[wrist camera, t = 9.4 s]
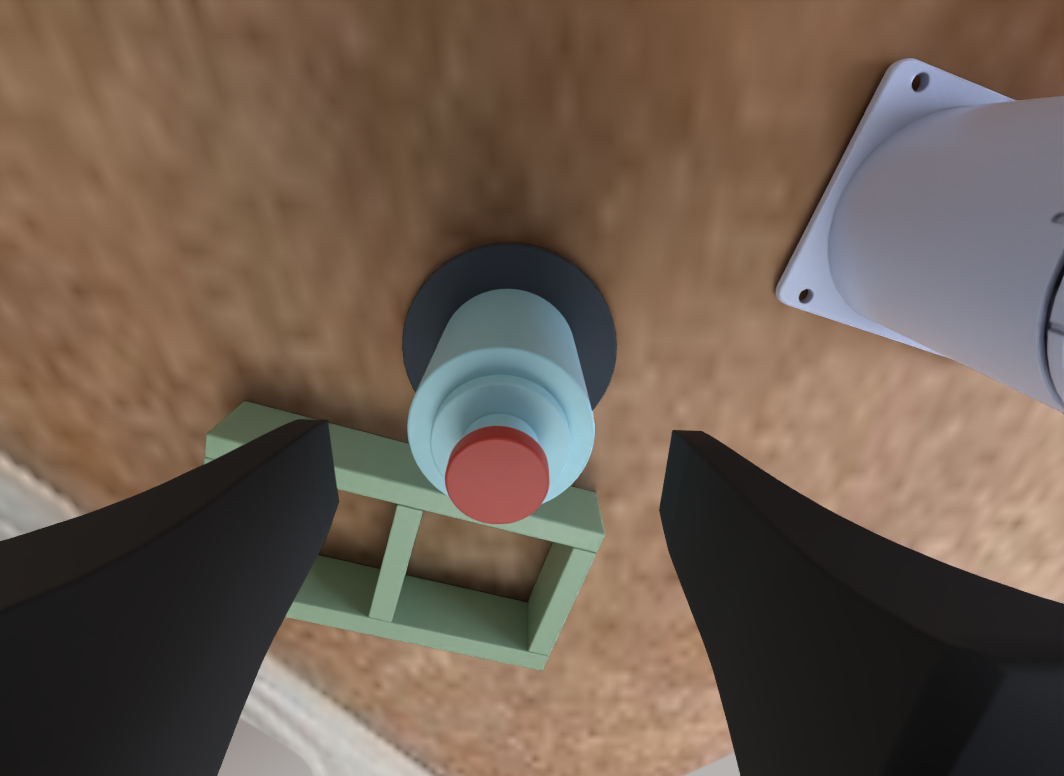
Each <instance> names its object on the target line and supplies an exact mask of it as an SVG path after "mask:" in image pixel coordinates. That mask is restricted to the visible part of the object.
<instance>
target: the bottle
mask: <svg viewBox="0 0 1064 776" xmlns="http://www.w3.org/2000/svg"><path fill="white" fill-rule="evenodd" d="M407 433H408V440H409V445H410V448H411V452H412V454H413V457H414V459H415V461H416V463H417V465H418V467H419V468H420V470H421V471H422V473H423V474H424V475H425V477H426V478H427V479H428V480H429V481H430V482H431V483H432V484H433V485H434V486H435V487H436V488H437V489H438V490H440V491H441V492H443V493H444V494H445V495H447V496H448V497H450V499H451V501H452V502H453V504H454V505H455V506H456V507H457V508H458V509H459V510H460V511H461V512H462V513H464V514H465V515H466V516H468V517H470V518H472V519H474V520H476V521H479V522H483V523H488V524H509V523H513V522H517V521H519V520H522V519H524V518H526V517H528V516H529V515H531V514H532V513H533V512H535V511H536V510H537V509H538V508H539V506H540V505H541V504H543V503H545V502H547V501H549V500H551V499H553V498H555V497H556V496H558V495H559V494H561V493H562V492H563V491H565V490H566V489H567V488H568V487H569V486H570V485H571V484H572V483H573V482H574V481H575V480H576V479H577V478H578V476H579V475H580V474H581V472H582V471H583V469H584V468H585V466H586V464H587V462H588V460H589V458H590V455H591V452H592V449H593V443H594V438H595V424H594V416H593V412H592V408H591V404H590V401H589V397H588V393H587V389H586V385H585V381H584V377H583V373H582V369H581V366H580V362H579V358H578V354H577V350H576V346H575V342H574V338H573V335H572V332H571V329H570V327H569V325H568V323H567V322H566V320H565V318H564V317H563V316H562V314H561V313H560V312H559V311H558V310H557V309H556V308H555V307H554V306H553V305H552V304H550V303H549V302H548V301H546V300H545V299H543V298H541V297H539V296H538V295H535V294H533V293H530V292H527V291H523V290H517V289H497V290H491V291H488V292H484V293H482V294H479V295H477V296H475V297H473V298H472V299H470V300H468V301H467V302H466V303H464V304H463V305H462V306H461V307H460V308H459V309H458V310H457V311H456V312H455V313H454V314H453V316H452V317H451V319H450V320H449V322H448V324H447V326H446V328H445V330H444V332H443V334H442V337H441V339H440V341H439V343H438V345H437V348H436V350H435V352H434V354H433V356H432V358H431V361H430V363H429V365H428V367H427V369H426V372H425V374H424V376H423V378H422V380H421V382H420V385H419V387H418V389H417V391H416V393H415V396H414V398H413V400H412V403H411V406H410V409H409V415H408V421H407Z"/></svg>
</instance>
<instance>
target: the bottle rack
mask: <svg viewBox="0 0 1064 776" xmlns="http://www.w3.org/2000/svg"><path fill="white" fill-rule="evenodd" d="M297 419H311V420H316V419H312V418H309V417H305V416H301V415H297V414H293V413H289V412H286V411H282V410H278V409H274V408H270V407H266V406H263V405H259V404H255V403H251V402H247V401H244V402H242V403H241V404H240V405H239V406H238V407H237V408H236V409H235V410H233V411H232V412H231V413H230V414H229V415H228V416H227V417H225V418H224V419H223V420H222V421H221V422H220V423H219V424H218V425H216V426H215V427H214V428H213V429H212V430H211V431H210V432H208V433H207V435H206V445H205V456H206V457H205V458H204V464H206V463H208V462H210V461H212V460H214V459H216V458H218V457H220V456H222V455H224V454H226V453H228V452H230V451H232V450H234V449H236V448H238V447H240V446H242V445H244V444H246V443H248V442H250V441H252V440H254V439H256V438H258V437H260V436H262V435H264V434H266V433H268V432H270V431H272V430H274V429H276V428H278V427H280V426H282V425H285V424H287V423H289V422H292V421H295V420H297ZM328 425H329V432H330V439H331V447H332V454H333V461H334V469H335V476H336V483H337V489H339V490H343V491H347V492H351V493H355V494H359V495H363V496H367V497H372V498H376V499H380V500H384V501H388V502H392V503H396V504H397V507H396V511H395V515H394V519H393V522H392V526H391V530H390V534H389V538H388V542H387V546H386V550H385V553H384V557H383V561H382V565H381V569H378V568H373V567H369V566H364V565H360V564H356V563H351V562H347V561H342V560H338V559H334V558H329V557H325V556H320V555H318V556H317V558H316V560H315V562H314V564H313V566H312V568H311V569H310V571H309V573H308V575H307V577H306V579H305V581H304V583H303V584H302V586H301V588H300V590H299V592H298V594H297V596H296V597H295V599H294V601H293V603H292V605H291V607H290V609H289V610H288V612H287V614H286V616H285V617H288V618H293V619H298V620H303V621H307V622H312V623H317V624H322V625H326V626H331V627H336V628H341V629H345V630H350V631H355V632H360V633H364V634H369V635H374V636H379V637H383V638H388V639H393V640H398V641H402V642H407V643H412V644H417V645H421V646H426V647H431V648H436V649H440V650H445V651H450V652H455V653H459V654H464V655H469V656H474V657H478V658H483V659H488V660H493V661H497V662H502V663H507V664H512V665H516V666H521V667H526V668H531V669H535V670H540V671H542V670H543V668H544V665H545V663H546V661H547V659H548V657H549V655H550V652H551V650H552V648H553V646H554V644H555V642H556V639H557V637H558V635H559V633H560V631H561V629H562V627H563V624H564V622H565V620H566V618H567V616H568V614H569V612H570V609H571V607H572V605H573V603H574V601H575V599H576V596H577V594H578V592H579V590H580V588H581V586H582V584H583V581H584V579H585V577H586V575H587V573H588V571H589V568H590V566H591V564H592V562H593V560H594V558H595V556H596V552H597V551H598V549H599V546H600V544H601V542H602V540H603V538H604V536H605V532H604V527H603V522H602V517H601V512H600V508H599V503H598V498H597V494H596V493H595V492H592V491H588V490H584V489H580V488H576V487H573V486H569V487H568V488H567V489H566V490H565V491H563V492H562V493H561V494H559V495H558V496H556V497H555V498H553V499H551V500H549V501H547V502H545V503H543V504H541V505H540V506H539V508H538V509H537V510H536V511H535V512H533V513H532V514H531V515H529V516H528V517H526V518H524V519H522V520H519V521H517V522H513V523H509V524H488V523H483V522H479V521H476V520H474V519H472V518H470V517H468V516H466V515H465V514H464V513H462V512H461V511H460V510H459V509H458V508H457V507H456V506H455V505H454V504H453V502H452V501H451V499H450V497H448V496H447V495H445V494H444V493H443V492H441V491H440V490H438V489H437V488H436V487H435V486H434V485H433V484H432V483H431V482H430V481H429V480H428V479H427V478H426V477H425V475H424V474H423V473H422V471H421V470H420V468H419V467H418V465H417V463H416V461H415V459H414V457H413V454H412V452H411V448H410V445H409V444H408V443H404V442H400V441H397V440H393V439H389V438H385V437H381V436H377V435H374V434H370V433H366V432H362V431H358V430H354V429H351V428H347V427H343V426H339V425H335V424H331V423H328ZM423 510H425V511H429V512H433V513H437V514H441V515H445V516H449V517H453V518H457V519H461V520H465V521H469V522H474V523H478V524H482V525H486V526H490V527H494V528H498V529H502V530H506V531H510V532H514V533H518V534H522V535H527V536H531V537H535V538H539V539H543V540H547V541H551V542H553V543H552V545H551V548H550V550H549V553H548V555H547V557H546V560H545V562H544V564H543V567H542V569H541V572H540V574H539V576H538V579H537V581H536V584H535V586H534V588H533V591H532V593H531V596H530V598H529V600H528V603H527V602H523V601H518V600H514V599H509V598H505V597H501V596H496V595H492V594H487V593H483V592H479V591H474V590H470V589H465V588H461V587H457V586H452V585H448V584H443V583H439V582H435V581H430V580H426V579H422V578H417V577H413V576H408V575H405V574H406V570H407V567H408V563H409V560H410V556H411V553H412V549H413V545H414V542H415V538H416V535H417V531H418V528H419V524H420V521H421V517H422V514H423Z"/></svg>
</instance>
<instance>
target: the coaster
mask: <svg viewBox="0 0 1064 776" xmlns="http://www.w3.org/2000/svg"><path fill="white" fill-rule="evenodd" d="M497 289H517V290H523V291H527V292H530V293H533V294H535V295H538V296H539V297H541V298H543V299H545V300H546V301H548V302H549V303H550V304H552V305H553V306H554V307H555V308H556V309H557V310H558V311H559V312H560V313H561V314H562V316H563V317H564V318H565V320H566V322H567V323H568V325H569V327H570V329H571V332H572V335H573V338H574V342H575V346H576V350H577V354H578V358H579V362H580V366H581V369H582V373H583V377H584V381H585V385H586V389H587V393H588V397H589V401H590V404H591V408H592V410H593V409H594V408H595V407H596V406H597V404H598V403H599V401H600V400H601V398H602V397H603V395H604V394H605V392H606V389H607V387H608V385H609V383H610V380H611V377H612V374H613V371H614V367H615V361H616V350H617V343H616V332H615V327H614V323H613V319H612V316H611V314H610V311H609V308H608V306H607V304H606V302H605V300H604V299H603V297H602V295H601V293H600V291H599V290H598V288H597V287H596V286H595V285H594V283H593V282H592V281H591V279H590V278H589V277H588V276H587V275H586V274H585V273H584V272H583V271H582V270H581V269H580V268H578V267H577V266H576V265H574V264H573V263H572V262H570V261H569V260H567V259H566V258H564V257H562V256H560V255H558V254H557V253H554V252H552V251H549V250H547V249H544V248H541V247H537V246H533V245H529V244H522V243H495V244H489V245H483V246H480V247H476V248H473V249H470V250H468V251H466V252H463V253H461V254H459V255H457V256H455V257H454V258H452V259H450V260H449V261H447V262H446V263H444V264H443V265H442V266H441V267H440V268H438V269H437V270H436V271H435V272H434V273H433V274H432V275H431V276H430V277H429V278H428V280H427V281H426V282H425V283H424V284H423V286H422V287H421V289H420V290H419V292H418V293H417V295H416V296H415V298H414V300H413V302H412V304H411V306H410V308H409V311H408V314H407V317H406V321H405V324H404V331H403V348H402V350H403V358H404V364H405V368H406V372H407V375H408V378H409V380H410V383H411V385H412V387H413V389H414V391H415V393H416V391H417V389H418V387H419V385H420V382H421V380H422V378H423V376H424V374H425V372H426V369H427V367H428V365H429V363H430V361H431V358H432V356H433V354H434V352H435V350H436V348H437V345H438V343H439V341H440V339H441V337H442V334H443V332H444V330H445V328H446V326H447V324H448V322H449V320H450V319H451V317H452V316H453V314H454V313H455V312H456V311H457V310H458V309H459V308H460V307H461V306H462V305H463V304H464V303H466V302H467V301H468V300H470V299H472V298H473V297H475V296H477V295H479V294H482V293H484V292H488V291H491V290H497Z"/></svg>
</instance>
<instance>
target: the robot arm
mask: <svg viewBox="0 0 1064 776" xmlns="http://www.w3.org/2000/svg"><path fill="white" fill-rule="evenodd" d="M916 75H918V76H919V77H920V81H921V82H920V86H919V88H918V89H917V90H916V91H914V90H913V89H912V85H911V84H912V81H913V79H914V77H915V76H916ZM805 289H808V295H807V297H806V298H805V299H803V300H801V301H800V300H799V294H800V293H801V292H802V291H803V290H805ZM775 292H776V297H777V299H778V300H779V301H781V302H782V303H784V304H786V305H789V306H792V307H795V308H798V309H801V310H804V311H807V312H810V313H813V314H816V315H819V316H822V317H825V318H828V319H831V320H834V321H837V322H840V323H843V324H846V325H849V326H852V327H855V328H859V329H862V330H865V331H868V332H871V333H874V334H877V335H880V336H883V337H886V338H889V339H892V340H895V341H898V342H901V343H904V344H907V345H910V346H913V347H916V348H919V349H922V350H925V351H929V352H932V353H935V354H938V355H941V356H944V357H947V358H950V359H952V360H954V361H956V362H958V363H960V364H962V365H964V366H967V367H969V368H971V369H973V370H975V371H977V372H979V373H981V374H983V375H985V376H987V377H989V378H991V379H993V380H995V381H997V382H999V383H1002V384H1004V385H1006V386H1008V387H1010V388H1012V389H1014V390H1016V391H1018V392H1020V393H1022V394H1024V395H1026V396H1028V397H1030V398H1032V399H1035V400H1037V401H1039V402H1041V403H1043V404H1045V405H1047V406H1049V407H1051V408H1053V409H1055V410H1057V411H1059V412H1061V413H1063V414H1064V96H1056V97H1046V98H1037V99H1027V100H1018V101H1016V100H1014V99H1011V98H1009V97H1006V96H1004V95H1002V94H999V93H997V92H994V91H992V90H989V89H987V88H985V87H982V86H980V85H977V84H975V83H972V82H970V81H968V80H965V79H963V78H960V77H958V76H956V75H953V74H951V73H948V72H946V71H943V70H941V69H939V68H936V67H934V66H931V65H929V64H927V63H924V62H922V61H919V60H917V59H913V58H906V59H902V60H899V61H896V62H895V63H893V64H892V65H891V66H890V67H889V68H888V69H887V71H886V72H885V74H884V76H883V78H882V80H881V82H880V84H879V86H878V88H877V90H876V92H875V94H874V96H873V98H872V100H871V102H870V104H869V106H868V107H867V109H866V111H865V113H864V115H863V117H862V119H861V121H860V123H859V125H858V127H857V129H856V131H855V133H854V135H853V137H852V139H851V141H850V143H849V145H848V147H847V149H846V151H845V153H844V155H843V157H842V159H841V161H840V163H839V165H838V167H837V168H836V170H835V172H834V174H833V176H832V178H831V180H830V182H829V184H828V186H827V188H826V190H825V192H824V194H823V196H822V198H821V200H820V202H819V204H818V206H817V208H816V210H815V212H814V214H813V216H812V218H811V220H810V222H809V224H808V226H807V228H806V229H805V231H804V233H803V235H802V237H801V239H800V241H799V243H798V245H797V247H796V249H795V251H794V253H793V255H792V257H791V259H790V261H789V263H788V265H787V267H786V269H785V271H784V273H783V275H782V277H781V279H780V281H779V283H778V285H777V287H776V291H775ZM338 503H339V498H338V491H337V483H336V476H335V469H334V461H333V454H332V447H331V439H330V432H329V425H328V420H311V419H297V420H295V421H292V422H289V423H287V424H285V425H282V426H280V427H278V428H276V429H274V430H272V431H270V432H268V433H266V434H264V435H262V436H260V437H258V438H256V439H254V440H252V441H250V442H248V443H246V444H244V445H242V446H240V447H238V448H236V449H234V450H232V451H230V452H228V453H226V454H224V455H222V456H220V457H218V458H216V459H214V460H212V461H210V462H208V463H206V464H204V465H202V466H200V467H197V468H195V469H193V470H191V471H189V472H187V473H185V474H182V475H180V476H178V477H176V478H174V479H172V480H170V481H167V482H165V483H163V484H161V485H159V486H156V487H154V488H152V489H149V490H147V491H145V492H142V493H140V494H137V495H135V496H132V497H130V498H127V499H125V500H122V501H120V502H117V503H114V504H112V505H109V506H106V507H104V508H101V509H99V510H96V511H93V512H90V513H88V514H85V515H82V516H79V517H76V518H73V519H70V520H67V521H63V522H60V523H57V524H54V525H51V526H48V527H45V528H42V529H38V530H35V531H32V532H29V533H26V534H23V535H20V536H17V537H14V538H10V539H7V540H4V541H0V776H217V775H218V772H219V769H220V767H221V764H222V761H223V759H224V756H225V754H226V751H227V749H228V746H229V743H230V741H231V738H232V736H233V733H234V730H235V728H236V725H237V722H238V720H239V717H240V715H241V712H242V710H243V707H244V705H245V702H246V700H247V698H248V695H249V693H250V690H251V688H252V685H253V683H254V681H255V678H256V676H257V673H258V671H259V668H260V666H261V664H262V661H263V659H264V657H265V655H266V653H267V651H268V649H269V647H270V645H271V643H272V640H273V638H274V637H275V635H276V633H277V631H278V629H279V627H280V625H281V624H282V622H283V620H284V618H285V616H286V614H287V612H288V610H289V609H290V607H291V605H292V603H293V601H294V599H295V597H296V596H297V594H298V592H299V590H300V588H301V586H302V584H303V583H304V581H305V579H306V577H307V575H308V573H309V571H310V569H311V568H312V566H313V564H314V562H315V560H316V558H317V556H318V554H319V552H320V550H321V548H322V546H323V544H324V542H325V540H326V537H327V534H328V532H329V529H330V526H331V524H332V521H333V518H334V515H335V512H336V509H337V506H338ZM659 511H660V516H661V520H662V525H663V530H664V534H665V538H666V542H667V547H668V551H669V554H670V556H671V559H672V562H673V565H674V567H675V570H676V572H677V575H678V578H679V580H680V583H681V586H682V588H683V591H684V593H685V596H686V599H687V601H688V604H689V606H690V609H691V612H692V614H693V617H694V619H695V622H696V625H697V627H698V630H699V632H700V635H701V637H702V640H703V643H704V645H705V648H706V651H707V654H708V657H709V660H710V663H711V666H712V669H713V672H714V676H715V679H716V683H717V687H718V690H719V694H720V698H721V701H722V705H723V709H724V712H725V716H726V720H727V724H728V728H729V732H730V736H731V740H732V744H733V748H734V752H735V756H736V760H737V763H738V768H739V771H740V776H1064V604H1063V603H1059V602H1056V601H1052V600H1049V599H1045V598H1042V597H1039V596H1036V595H1033V594H1030V593H1027V592H1024V591H1021V590H1018V589H1015V588H1012V587H1009V586H1006V585H1003V584H1001V583H998V582H995V581H992V580H989V579H986V578H983V577H980V576H977V575H975V574H972V573H969V572H967V571H964V570H961V569H959V568H956V567H953V566H951V565H948V564H945V563H943V562H941V561H938V560H936V559H933V558H931V557H928V556H926V555H924V554H921V553H919V552H916V551H914V550H912V549H909V548H907V547H904V546H902V545H900V544H897V543H895V542H893V541H891V540H888V539H886V538H884V537H882V536H880V535H878V534H875V533H873V532H871V531H869V530H867V529H865V528H863V527H861V526H859V525H857V524H855V523H853V522H851V521H849V520H847V519H845V518H843V517H841V516H839V515H837V514H835V513H834V512H832V511H830V510H828V509H826V508H824V507H823V506H821V505H819V504H817V503H816V502H814V501H812V500H811V499H809V498H807V497H805V496H804V495H802V494H800V493H799V492H797V491H795V490H793V489H792V488H790V487H789V486H787V485H785V484H784V483H782V482H781V481H779V480H777V479H776V478H774V477H773V476H771V475H770V474H768V473H766V472H765V471H763V470H762V469H760V468H759V467H757V466H756V465H754V464H753V463H751V462H750V461H748V460H747V459H745V458H744V457H742V456H741V455H739V454H738V453H736V452H735V451H733V450H732V449H730V448H729V447H727V446H726V445H724V444H723V443H721V442H720V441H718V440H717V439H715V438H713V437H712V436H710V435H708V434H706V433H704V432H703V431H686V430H672V436H671V442H670V448H669V454H668V460H667V466H666V472H665V478H664V484H663V491H662V497H661V503H660V509H659Z"/></svg>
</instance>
